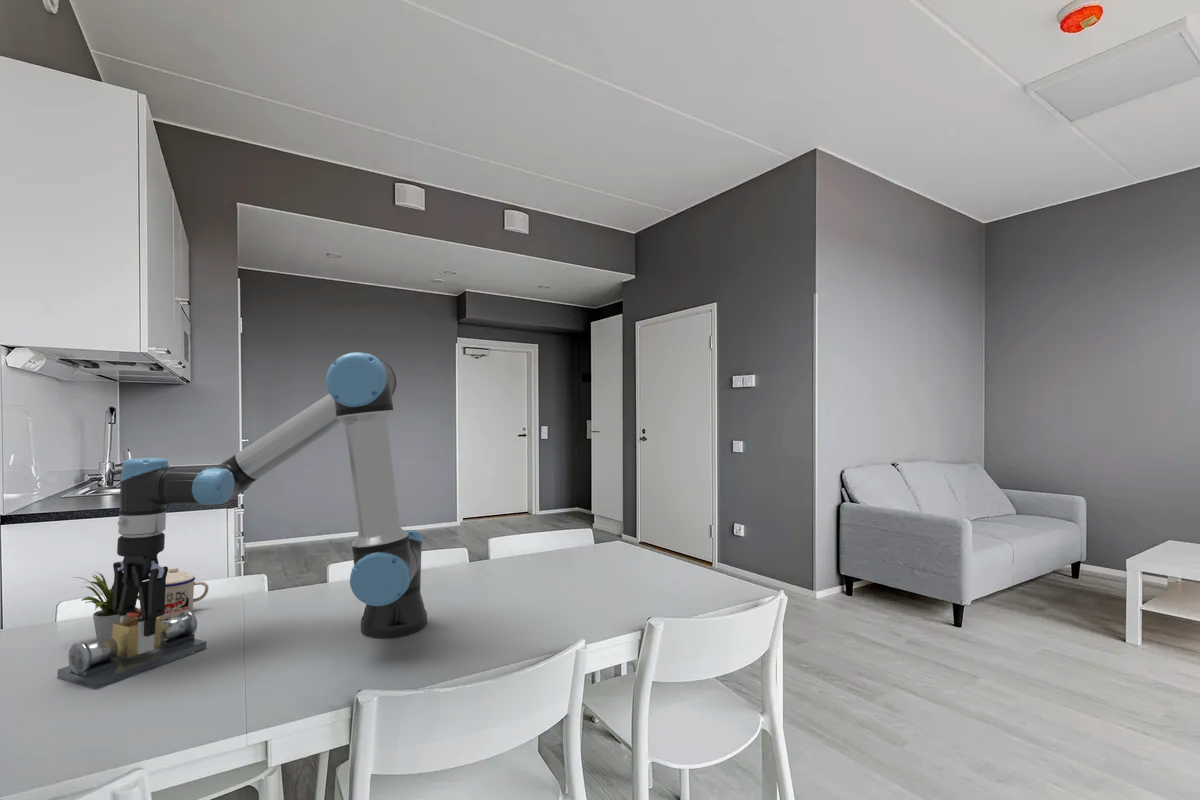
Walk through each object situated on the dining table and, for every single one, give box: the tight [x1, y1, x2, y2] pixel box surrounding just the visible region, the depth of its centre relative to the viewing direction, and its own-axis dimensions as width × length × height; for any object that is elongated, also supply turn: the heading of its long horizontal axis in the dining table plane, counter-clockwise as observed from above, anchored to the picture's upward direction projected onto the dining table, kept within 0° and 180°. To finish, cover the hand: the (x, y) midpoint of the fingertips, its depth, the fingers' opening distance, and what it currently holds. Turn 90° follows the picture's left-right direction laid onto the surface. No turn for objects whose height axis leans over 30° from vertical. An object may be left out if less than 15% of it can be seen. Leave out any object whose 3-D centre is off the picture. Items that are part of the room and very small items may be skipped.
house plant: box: [74, 571, 140, 642], centre depth 125 cm, size 14×14×16 cm
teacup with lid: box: [159, 566, 209, 621], centre depth 143 cm, size 12×9×12 cm
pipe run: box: [57, 610, 207, 690], centre depth 115 cm, size 20×12×7 cm, turn 159°
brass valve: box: [112, 607, 163, 658], centre depth 115 cm, size 6×5×8 cm
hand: (136, 648), depth 115 cm, fingers closed on brass valve, 5 cm apart
